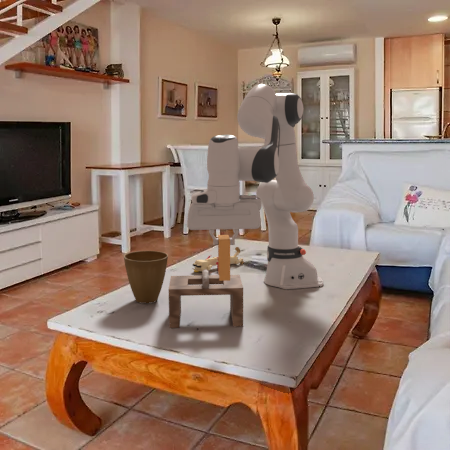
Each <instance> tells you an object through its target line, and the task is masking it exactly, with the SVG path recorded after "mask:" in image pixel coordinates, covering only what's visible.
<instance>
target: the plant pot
mask: <svg viewBox="0 0 450 450" xmlns="http://www.w3.org/2000/svg"><path fill="white" fill-rule="evenodd" d="M168 259H169V254H168V253H166V252H163V251H158V250H136V251H131V252H127V253H125V254H124V255H123V261H124V266H125V267H124V268H125V272H126V276H127V280H128V284H129V286H130V289H131V292H132V295H133V297H134V299H135V301H136V302H137V303H140V304H152V303H153V304H154V303H155V302H157V301H158V299H159V296H160V293H161V291H162V287H163V285H164V284H163V283H164V281H165V276H166V271H167V265H168Z"/></svg>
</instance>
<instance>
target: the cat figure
mask: <svg viewBox="0 0 450 450" xmlns="http://www.w3.org/2000/svg"><path fill="white" fill-rule="evenodd" d="M234 250H235V251H236V252H235V253H234V255H230V265H243V263H244V264H245V261H244V258H243V257H240V258H239V257H238V256H239V254H241V248H240V247H239V246H235V249H234ZM214 266H215V267H217V269H218V256H213V257H212V254H210V255H208V256H207V258H205V259H196V260H195V261H194V263H193V264H192V268H191V270H193V272H194V273H199V272H202V271H203V270H204V269H206V270H208V271H210V270H211V268H213V267H214ZM193 267H194V268H193Z"/></svg>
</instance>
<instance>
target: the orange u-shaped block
mask: <svg viewBox="0 0 450 450" xmlns="http://www.w3.org/2000/svg"><path fill="white" fill-rule="evenodd" d="M217 238H219V245H217V250H218V252H217V253H218V255H217V257H218V268H217V272H218V274H217V275H219V281H230V275H231V264H230V256H231V245H230V238H231V237H230V236H229V234H218V235H217Z"/></svg>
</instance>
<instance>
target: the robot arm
mask: <svg viewBox="0 0 450 450" xmlns="http://www.w3.org/2000/svg"><path fill="white" fill-rule="evenodd" d="M303 115H304V103H303V101H302V97H301V96H300V95H299V94H298V93H293V92H292V93H291V92H288V93H276V91H275V89H273V87H271V86H270V85H269V84H264V83H261V84H260V83H259V84H256V85H255V86H253V87H252V88H251V89H250V90H249V91H248V92H247V93H246V95H245V97H243V100H242V101H241V103H240V105H239V107H238V110H237V115H236V116H237V117H236V119H237V123H238V126H239V128H240V129H241V130H242V131H243V132H244V133H245V134H246V135H248V136H250V137H252V138H253V137H255V138H259V139H263V140H264V142H263V143H264V144H263V145H261V146H260V145H259V146H239V141H238V138H237V136H236V135H232V134H219V135H215V136H212V137H211V138H210V139H209V141H208V146H207V154H206V155H207V159H206V170H207V173H208V178H207V179H208V180H207V183H206V185H207V186H206V189H203V190H200V191H197V192H196V191H195V192H194V193H193V194H192V195H191V198H190V199H191V203H190V205H189V207H188V212H187V220H186V221H187V222H186V225H187V228H188V229H189V230H191V231H199V230H201V231H203V230H205V231H206V230H207V231H209V235H210V237H211V238H212V242H213V243H212V245H213V246H218V245H219V238H218V237H216V236H215V230H232V231H233V234H232V237H229V238H230V246H235V245H236V244H235V242H236V238H237V236H238V235H239V232H240V230H258V229H259V228H260V226H261V225H262V224H261V213H260V212H261V209H263V212H264V214H265V217H266V221H267V222H266V223H267V226H268V245H267V250H266V259H267V266H266V272H265V276H264V280H263V282H264V284H265V285H267V286H271V287H276V288H281V289H284V290H293V289H294V290H295V289H306V288H319V286H320V287H322V286H323V285H324V280H323V278H322V277H320V276H319V275H318V271H317V267H316V266H315V264H314V263H312V262H311V261H310V260H308V259H307V258H306V257H305V255H306V253H307V250H305V249H304V248H303V247H301V246H300V245H299V227H298V224H297V223H296V221H294V219H293V217H292V214H291V213H304V212H306V211H308V210H309V209H310V208H311V207H312V206H313V203H314V198H315V197H314V192H313V189H312V188H311V187H310V186H309V185H308V184H307V183H306V181H305V179H304V178H303V176H302V172H301V171H300V167H299V164H298V163H299V162H298V156H297V155H298V154H297V152H298V151H297V139H296V133H295V126H296V125H297V124H298V123H300V122H301V120H302V118H303ZM240 181H241V182H244V181H245V182H256V183H257V182H258V183H259V185H258V186H257V188H256V192H255V193H256V194H250V195H249V194H247V195H246V194H240V192H241V191H240V190H241V187H240V186H241V185H240V184H241V183H240Z"/></svg>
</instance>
